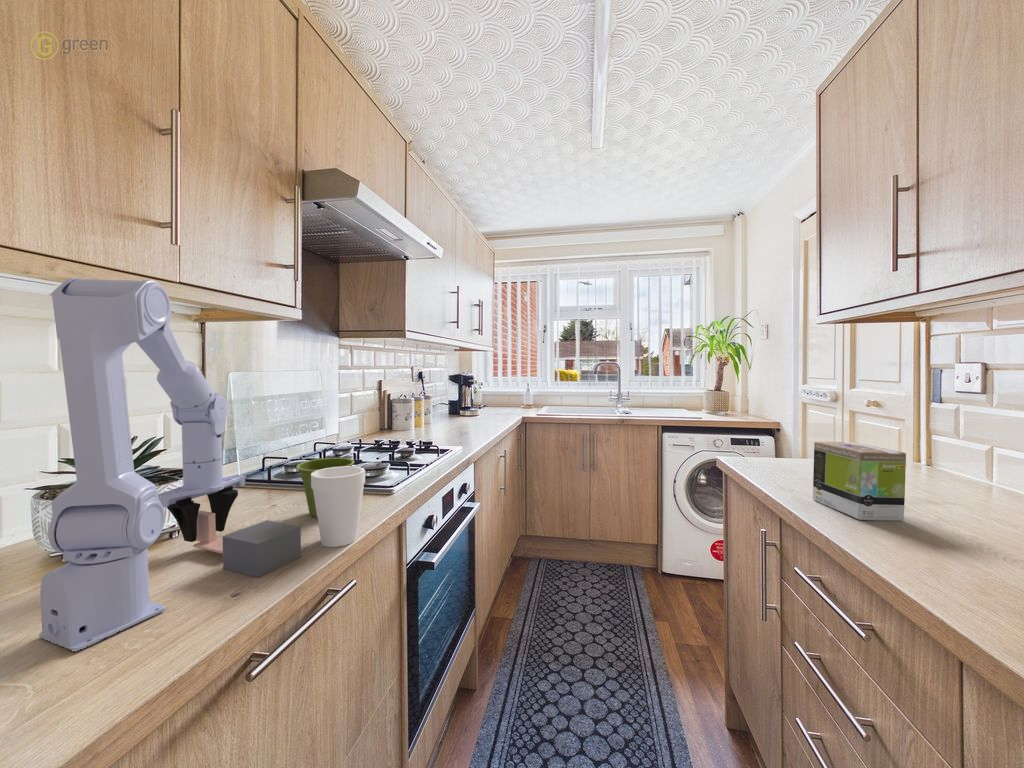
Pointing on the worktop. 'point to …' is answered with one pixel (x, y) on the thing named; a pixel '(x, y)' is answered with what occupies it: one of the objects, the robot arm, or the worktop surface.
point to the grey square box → (261, 548)
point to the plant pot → (315, 465)
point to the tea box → (860, 480)
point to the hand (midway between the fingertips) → (204, 535)
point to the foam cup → (338, 503)
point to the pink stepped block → (208, 533)
